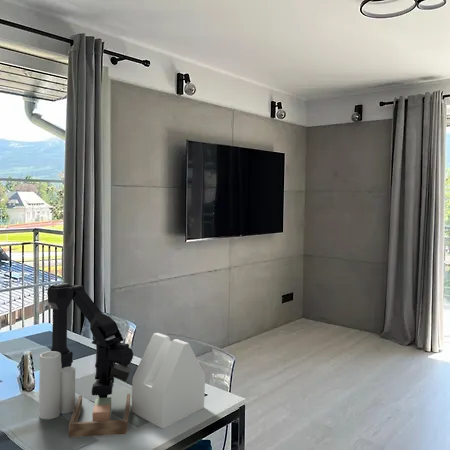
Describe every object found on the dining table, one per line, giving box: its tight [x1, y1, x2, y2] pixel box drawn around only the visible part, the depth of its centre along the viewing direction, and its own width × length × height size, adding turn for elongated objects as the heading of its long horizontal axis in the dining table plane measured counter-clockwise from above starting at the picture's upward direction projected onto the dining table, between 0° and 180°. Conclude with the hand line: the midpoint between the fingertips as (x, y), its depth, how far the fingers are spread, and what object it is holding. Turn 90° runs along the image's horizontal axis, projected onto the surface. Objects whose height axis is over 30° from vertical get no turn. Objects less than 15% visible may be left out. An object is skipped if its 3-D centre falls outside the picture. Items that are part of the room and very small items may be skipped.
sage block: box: [93, 396, 112, 417], centre depth 145 cm, size 5×5×5 cm
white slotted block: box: [131, 332, 206, 429], centre depth 150 cm, size 19×15×25 cm
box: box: [68, 393, 131, 438], centre depth 143 cm, size 17×19×4 cm
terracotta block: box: [91, 403, 112, 422], centre depth 140 cm, size 5×5×5 cm
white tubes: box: [38, 350, 76, 420], centre depth 146 cm, size 11×7×20 cm, turn 140°
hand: (104, 403), depth 149 cm, fingers closed
